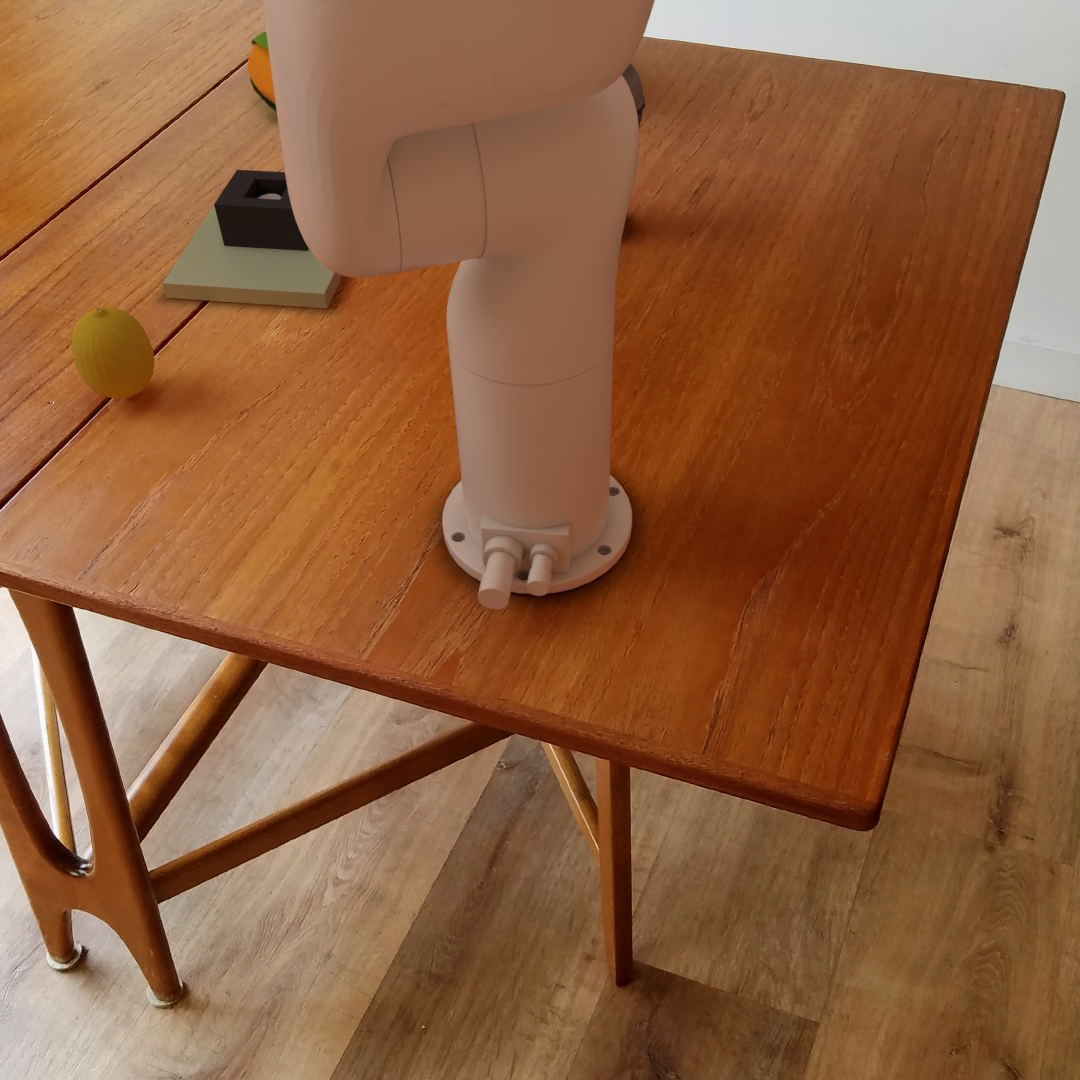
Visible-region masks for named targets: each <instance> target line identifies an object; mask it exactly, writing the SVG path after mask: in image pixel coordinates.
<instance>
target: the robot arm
mask: <svg viewBox="0 0 1080 1080" xmlns="http://www.w3.org/2000/svg"><path fill="white" fill-rule="evenodd" d="M262 1H263V15H264V25H265V32H266V34H267V42H268V49H269V57H270V64H271V72H272V79H273V87H274V95H275V102H276V110H277V112H276V117H277V124H278V132H279V138H280V147H281V154H282V155H281V156H282V163H283V170H284V172H285V176H286V182H287V188H288V194H289V198H290V202H291V206H292V210H293V213H294V217H295V220H296V223H297V225H298V228H299V230H300V232H301V234H302V237H303V239H304V241H305V243H306V244H307V246H308V248H309V249H310V251H311V252H312V253H313V255H314V256H315V257H316V258H317V259H318V260H319V261H320V262H321V263H322V264H323V265H324V266H325V267H327V268H328V269H329V270H331V271H333V272H335V273H337V274H339V275H343V276H342V277H347V278H353V279H366V278H375V277H382V276H389V275H395V274H401V273H403V274H404V273H407V272H412V271H418V270H424V269H428V268H433V267H438V266H443V265H448V264H453V263H459V262H460V263H459V265H458V267H457V270H456V273H455V274H454V276H453V279H452V282H451V287H450V290H449V294H448V297H447V303H446V304H447V305H446V313H445V314H446V315H445V316H446V318H445V319H446V335H447V336H446V337H447V347H448V348H447V349H448V356H449V357H448V358H449V368H450V377H451V386H452V387H451V388H452V397H453V398H452V399H453V407H454V417H455V418H454V419H455V427H456V428H455V429H456V438H457V447H458V457H459V468H460V477H461V480H460V481H459V482H458V483H457V484H456V485H455V486H454V487H453V489H452V490H451V492H450V494H449V495H448V496H447V498H446V501H445V503H444V504H445V505H444V507H443V511H442V534H443V539H444V543H445V545H446V548H447V550H448V553H449V554H450V556H451V558H452V559H453V560H454V561H455V563H456V564H457V565H458V566H459V567H460V568H461V569H462V570H463V571H464V572H465V573H466V574H467V575H469V576H471V577H472V578H474V579H476V580H477V581H479V582H480V583H479V588H478V591H477V601H478V602H479V604H480V605H481V606H482V607H484V608H486V609H489V610H494V611H499V610H503V609H505V608H506V607H507V606H508V605H509V603H510V599H511V593H515V594H523V595H524V594H525V595H532V596H534V597H535V596H536V597H543V596H545V595H547V594H557V593H561V592H565V591H570V590H573V589H576V588H579V587H581V586H583V585H586V584H589V583H591V582H593V581H594V580H597V579H598V578H599V577H601V576H602V575H604V574H606V573H607V572H608V571H609V570H610V569H611V568H612V567H614V566H615V565H616V564H617V563H618V561H619V560H620V559H621V557H622V556H623V555H624V553H625V552H626V551H627V548H628V545H629V542H630V541H631V535H632V528H633V509H632V505H631V502H630V498H629V496H628V495H627V493H626V491H625V490H624V488H623V486H622V485H621V484H620V483H619V481H617V479H616V478H615V477H614V476H613V475H611V447H612V446H611V445H612V444H611V443H612V442H611V441H612V407H613V406H612V405H613V400H612V399H613V370H614V339H615V319H616V318H615V317H616V315H615V314H616V295H617V294H616V293H617V279H618V268H619V258H620V251H621V245H622V237H623V233H624V231H623V229H624V230H625V228H624V224H625V225H626V221H625V220H627V215H628V212H627V211H628V210H629V207H630V203H631V198H632V196H633V195H632V194H633V191H634V186H635V181H636V175H637V170H638V169H637V168H638V164H639V163H638V162H639V151H640V128H639V125H638V115H637V111H636V106H635V102H634V99H633V96H632V93H631V91H630V88H629V86H628V84H627V82H626V81H625V79H624V77H623V76H622V74H623V73H624V71H625V70H626V69H627V67H628V66H629V65H630V63H631V64H632V61H633V59H634V57H635V56H636V53H637V52H638V49H639V47H640V44H641V42H642V40H643V38H644V35H645V33H646V29H647V26H648V23H649V21H650V18H651V14H652V10H653V7H654V5H655V0H262Z"/></svg>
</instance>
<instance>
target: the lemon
mask: <svg viewBox="0 0 1080 1080" xmlns="http://www.w3.org/2000/svg"><path fill="white" fill-rule="evenodd" d="M71 350H72V351H71V352H72V357H73V362H74V365H75V367H76V369H77V371H78V373H79V375H80V377H81V378H82V380H83V382H84V383H85V385H87V386H88V387H89V388H90V389H91V390H93V391H94V392H95V393H97V394H99V395H101V396H104V397H106V398H110V399H116V400H117V399H126V400H127V399H128V400H129V399H131V398H133V397H134V396H135V395H137V394H139V393H140V392H142V391H143V390H144V389H145V388H146V387H147V385H149V383H150V381H151V379H152V377H153V375H154V371H155V352H154V349H153V345H152V343H151V340H150V338H149V336H148V334H147V332H146V330H145V329H144V327H143V326H142V324H141V323H140V322H139V321H138V320H137V319H136V318H135V316H133V315H132V314H130V313H129V312H127V311H125V310H123V309H120V308H116V307H108V306H102V307H101V306H97V307H95V308H93V309H91V310H89V311H87V312H86V313H85V314H83V315H82V316H81V317H80V318H79V320H78V321H77V322H76V323H75V325H74V327H73V332H72V334H71Z"/></svg>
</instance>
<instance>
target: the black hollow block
mask: <svg viewBox="0 0 1080 1080" xmlns="http://www.w3.org/2000/svg"><path fill="white" fill-rule="evenodd" d="M265 194H277V195H280V196H281V199H280V200H279V199H260V198H259V197H260V196H262V195H265ZM213 206H214V207H215V211H216V215H217V219H218V223H219V227H220V231H221V235H222V239H223V243H224V246H234V247H250V248H267V249H284V250H301V251H308V249H309V248H308V246H307V244H306V243H305V241H304V239H303V237H302V234H301V232H300V230H299V228H298V225H297V223H296V220H295V217H294V213H293V210H292V206H291V202H290V198H289V194H288V188H287V182H286V176H285V171H273V170H271V171H270V170H252V169H236V170H235V172H234V174H233V175H232V176H231V178H230V179H229V181H228V182H227V184H226V185H225V187H224V188H223V190H222V191H221V193H220V195H218V198H217V199H216V200H215V202H214V204H213Z"/></svg>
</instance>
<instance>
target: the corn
mask: <svg viewBox="0 0 1080 1080" xmlns="http://www.w3.org/2000/svg"><path fill="white" fill-rule="evenodd" d="M250 43H251V44H252V45H253V46H252V49H251V52H250V54H249V57H248V60H247V72H248V74H249V76H250V83H251V86H252V88H253V90H254V92H255V93H256V94H257V95H258V96H259V97H260V98H261V99H262V101H263V102H264V103H265V104H266V105H267V106H269V107H270V108H271V110H273V111H274V112H275V113H277V110H276V102H275V95H274V87H273V79H272V72H271V64H270V57H269V49H268V42H267V34H266V31H262V32H261V33H259V34H258V35H256V36H255V37H254V38H253V39H252V40H251V42H250Z"/></svg>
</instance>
